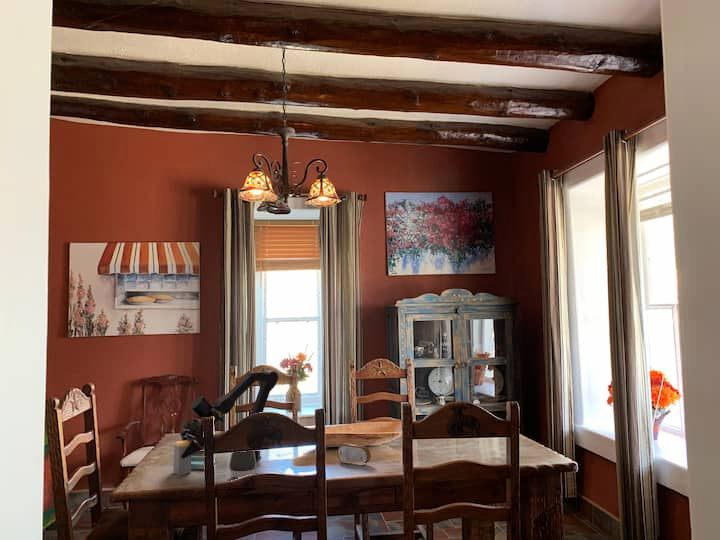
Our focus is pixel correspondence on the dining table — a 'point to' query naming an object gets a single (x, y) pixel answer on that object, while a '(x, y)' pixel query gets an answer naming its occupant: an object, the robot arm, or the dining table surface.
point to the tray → (197, 462)
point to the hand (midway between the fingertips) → (179, 456)
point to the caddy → (179, 463)
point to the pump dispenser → (242, 463)
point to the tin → (353, 453)
